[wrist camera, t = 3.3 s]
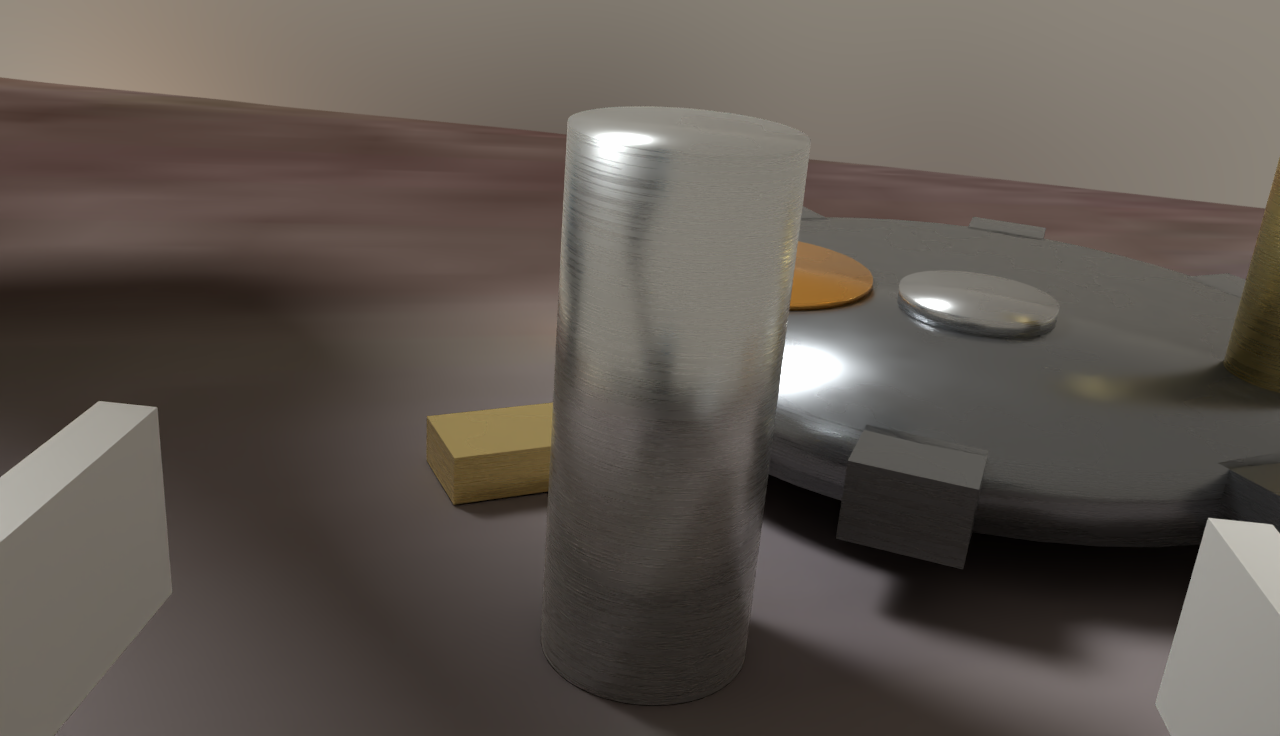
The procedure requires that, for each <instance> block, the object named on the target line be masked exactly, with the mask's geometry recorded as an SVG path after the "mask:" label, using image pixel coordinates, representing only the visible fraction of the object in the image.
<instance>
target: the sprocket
mask: <svg viewBox="0 0 1280 736" xmlns="http://www.w3.org/2000/svg"><path fill="white" fill-rule="evenodd" d="M1045 230H1046V228H1042V227H1036V226H1030V225H1023V224H1017V223H1010V222H1004V221H997V220H991V219H984V218H978V217H973V219H972V221H971V222H970V224H969V226H968V227H966V226H957V225H948V224H939V223H930V222H917V221H905V220H891V219H870V218H826V217H823V216H821V215H819V214H817V213H815V212H813V211H811V210H809V209H807V208H805V207H803V206H802V214H801V222H800V230H799V237H798V245H797V253H796V261H795V269H794V277H793V284H792V292H791V300H790V308H789V316H788V324H787V331H786V339H785V347H784V355H783V363H782V371H781V379H780V386H779V394H778V402H777V410H776V418H775V426H774V433H773V441H772V449H771V457H770V465H769V473H768V474H769V475H772V476H774V477H777V478H779V479H781V480H784V481H786V482H789V483H791V484H794V485H796V486H799V487H802V488H805V489H808V490H811V491H814V492H817V493H820V494H823V495H826V496H829V497H832V498H835V499H838V500H841V501H842V502H841V508H840V515H839V521H838V528H837V534H836V539H840V540H844V541H848V542H852V543H856V544H860V545H864V546H869V547H873V548H877V549H881V550H885V551H889V552H893V553H897V554H901V555H906V556H910V557H914V558H918V559H922V560H926V561H930V562H934V563H939V564H943V565H947V566H951V567H955V568H959V569H963V568H964V564H965V560H966V555H967V551H968V547H969V543H970V539H971V535H972V532H974V533H981V534H988V535H995V536H1002V537H1009V538H1016V539H1023V540H1030V541H1039V542H1051V543H1063V544H1075V545H1087V546H1108V547H1168V546H1185V545H1200V544H1201V541H1202V537H1203V534H1204V530H1205V527H1206V523H1207V520H1208V518H1215V519H1225V520H1234V521H1244V522H1253V523H1263V524H1272V525H1273V526H1274V527H1275V528H1276V529H1277V531H1278V532H1279V533H1280V158H1279V161H1278V165H1277V169H1276V172H1275V176H1274V180H1273V183H1272V187H1271V191H1270V195H1269V198H1268V201H1267V205H1266V209H1265V212H1264V216H1263V220H1262V223H1261V227H1260V231H1259V234H1258V238H1257V242H1256V245H1255V249H1254V253H1253V256H1252V260H1251V264H1250V267H1249V271H1248V275H1247V278H1246V280H1245V279H1242V278H1239V277H1237V276H1234V275H1231V274H1229V273H1228V274H1215V275H1203V276H1189V275H1185V274H1182V273H1179V272H1176V271H1173V270H1169V269H1166V268H1163V267H1160V266H1156V265H1153V264H1149V263H1146V262H1142V261H1138V260H1135V259H1131V258H1127V257H1123V256H1120V255H1116V254H1112V253H1107V252H1103V251H1099V250H1095V249H1090V248H1086V247H1082V246H1077V245H1072V244H1067V243H1062V242H1057V241H1053V240H1048V239H1044V235H1045Z"/></svg>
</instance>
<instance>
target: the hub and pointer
mask: <svg viewBox="0 0 1280 736" xmlns="http://www.w3.org/2000/svg"><path fill="white" fill-rule="evenodd" d="M552 413H553V403H545V404H536V405H526V406H517V407H508V408H499V409H489V410H480V411H471V412H462V413H452V414H443V415H434V416H427V462H428V463H429V465H430V467H431V468H432V470H433V472H434V473H435V475H436V477H437V478H438V480H439V482H440V483H441V485H442V486H443V488H444V490H445V491H446V493H447V495H448V496H449V498H450V500H451V501H452V503H453V505H454V504H461V503H469V502H476V501H483V500H490V499H497V498H504V497H512V496H519V495H526V494H533V493H540V492H547V491H548V490H549V471H550V451H551V432H552Z"/></svg>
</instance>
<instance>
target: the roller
mask: <svg viewBox="0 0 1280 736" xmlns="http://www.w3.org/2000/svg"><path fill="white" fill-rule="evenodd" d="M567 126H568V127H567V144H566V163H565V182H564V202H563V221H562V240H561V259H560V278H559V298H558V317H557V336H556V355H555V374H554V394H553V413H552V432H551V451H550V471H549V490H548V509H547V528H546V547H545V567H544V586H543V605H542V624H541V645H542V649H543V652H544V654H545V656H546V658H547V660H548V662H549V663H550V664H551V666H552V667H553V668H554V669H555V670H556V671H557V672H558V673H559V674H560V675H561V676H562V677H564V678H565V679H566V680H568V681H569V682H570V683H572V684H574V685H576V686H577V687H579V688H581V689H583V690H585V691H587V692H589V693H592V694H594V695H597V696H600V697H603V698H606V699H610V700H614V701H618V702H624V703H630V704H639V705H670V704H678V703H684V702H689V701H693V700H696V699H700V698H703V697H705V696H708V695H710V694H713V693H715V692H716V691H718V690H720V689H722V688H723V687H725V686H726V685H727V684H729V683H730V682H731V681H732V680H733V679H734V678H735V677H736V676H737V674H738V673H739V671H740V670H741V668H742V665H743V663H744V660H745V653H746V645H747V637H748V629H749V622H750V614H751V606H752V598H753V590H754V582H755V575H756V567H757V559H758V551H759V543H760V535H761V528H762V520H763V512H764V504H765V496H766V488H767V480H768V473H769V465H770V457H771V449H772V441H773V433H774V426H775V418H776V410H777V402H778V394H779V386H780V379H781V371H782V363H783V355H784V347H785V339H786V331H787V324H788V316H789V308H790V300H791V292H792V284H793V277H794V269H795V261H796V253H797V245H798V237H799V230H800V222H801V214H802V206H803V198H804V190H805V183H806V175H807V167H808V159H809V151H810V143H811V139H810V138H809V136H807V135H806V134H805V133H803V132H801V131H799V130H797V129H795V128H792V127H789V126H787V125H784V124H780V123H777V122H773V121H769V120H765V119H760V118H755V117H750V116H744V115H739V114H732V113H725V112H718V111H710V110H699V109H689V108H674V107H650V106H649V107H648V106H644V107H643V106H636V107H634V106H633V107H610V108H600V109H592V110H587V111H583V112H579V113H577V114H574V115H572V116H571V117H569V119H568V125H567Z"/></svg>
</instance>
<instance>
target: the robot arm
mask: <svg viewBox="0 0 1280 736" xmlns="http://www.w3.org/2000/svg"><path fill="white" fill-rule="evenodd" d="M171 594H172V581H171V569H170V556H169V544H168V532H167V520H166V507H165V495H164V483H163V470H162V458H161V446H160V434H159V421H158V409H157V407H151V406H142V405H132V404H123V403H113V402H104V401H98V402H97V403H96V404H94V405H93V406H92V407H91V408H89V409H88V410H87V411H85V412H84V413H83V414H81V415H80V416H79V417H78V418H76V419H75V420H74V421H72V422H71V423H70V424H69V425H67V426H66V427H65V428H63V429H62V430H61V431H60V432H58V433H57V434H56V435H54V436H53V437H52V438H50V439H49V440H48V441H47V442H45V443H44V444H43V445H41V446H40V447H39V448H38V449H36V450H35V451H34V452H32V453H31V454H30V455H28V456H27V457H26V458H25V459H23V460H22V461H21V462H19V463H18V464H17V465H16V466H14V467H13V468H12V469H10V470H9V471H8V472H7V473H5V474H4V475H3V476H1V477H0V736H54V735H55V734H56V732H57V731H58V730H59V729H60V728H61V726H62V725H63V724H64V723H65V722H66V720H67V719H68V718H69V717H70V716H71V714H72V713H73V712H74V711H75V710H76V708H77V707H78V706H79V705H80V704H81V702H82V701H83V700H84V699H85V698H86V696H87V695H88V694H89V693H90V691H91V690H92V689H93V688H94V687H95V685H96V684H97V683H98V682H99V681H100V679H101V678H102V677H103V676H104V675H105V673H106V672H107V671H108V670H109V669H110V667H111V666H112V665H113V664H114V663H115V661H116V660H117V659H118V658H119V657H120V655H121V654H122V653H123V652H124V651H125V649H126V648H127V647H128V646H129V645H130V643H131V642H132V641H133V640H134V639H135V637H136V636H137V635H138V634H139V633H140V631H141V630H142V629H143V628H144V626H145V625H146V624H147V623H148V622H149V620H150V619H151V618H152V617H153V616H154V614H155V613H156V612H157V611H158V610H159V608H160V607H161V606H162V605H163V604H164V602H165V601H166V600H167V599H168V598H169V596H170V595H171ZM1155 705H1156V707H1157V709H1158V711H1159V713H1160V715H1161V717H1162V719H1163V721H1164V723H1165V725H1166V727H1167V729H1168V731H1169V733H1170V735H1171V736H1280V533H1279V532H1278V531H1277V529H1276V528H1275V527H1274V526H1273V525H1272V524H1263V523H1253V522H1244V521H1234V520H1225V519H1215V518H1208V520H1207V523H1206V527H1205V530H1204V534H1203V537H1202V541H1201V544H1200V548H1199V552H1198V555H1197V559H1196V562H1195V566H1194V569H1193V573H1192V576H1191V580H1190V583H1189V587H1188V590H1187V594H1186V597H1185V601H1184V604H1183V608H1182V611H1181V615H1180V619H1179V622H1178V626H1177V629H1176V633H1175V636H1174V640H1173V643H1172V647H1171V650H1170V654H1169V657H1168V661H1167V664H1166V668H1165V671H1164V675H1163V679H1162V682H1161V686H1160V689H1159V693H1158V696H1157V700H1156V703H1155Z"/></svg>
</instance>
